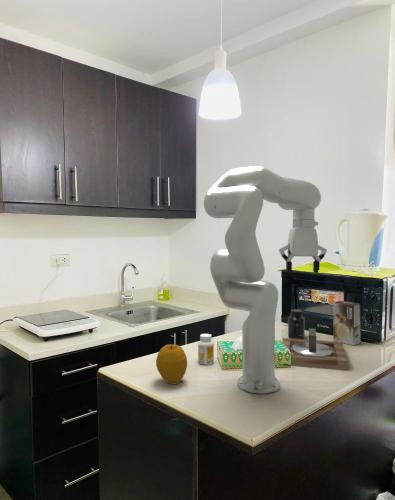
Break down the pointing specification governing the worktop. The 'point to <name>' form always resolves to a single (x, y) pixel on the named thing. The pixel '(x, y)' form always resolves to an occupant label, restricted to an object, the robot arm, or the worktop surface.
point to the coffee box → (346, 322)
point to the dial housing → (333, 362)
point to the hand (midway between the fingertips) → (302, 272)
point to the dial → (312, 347)
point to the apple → (171, 363)
